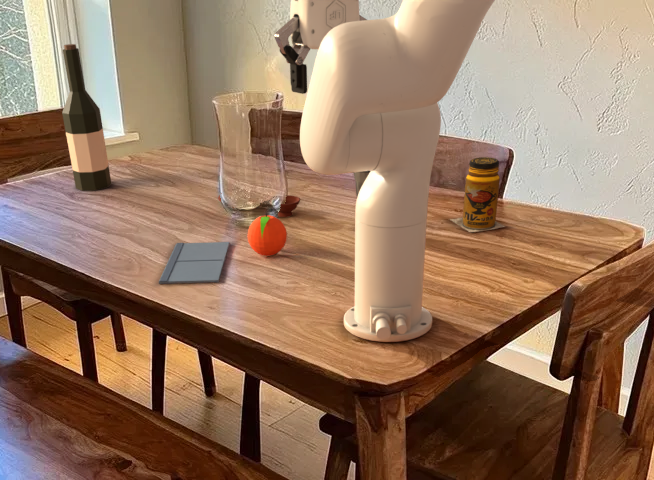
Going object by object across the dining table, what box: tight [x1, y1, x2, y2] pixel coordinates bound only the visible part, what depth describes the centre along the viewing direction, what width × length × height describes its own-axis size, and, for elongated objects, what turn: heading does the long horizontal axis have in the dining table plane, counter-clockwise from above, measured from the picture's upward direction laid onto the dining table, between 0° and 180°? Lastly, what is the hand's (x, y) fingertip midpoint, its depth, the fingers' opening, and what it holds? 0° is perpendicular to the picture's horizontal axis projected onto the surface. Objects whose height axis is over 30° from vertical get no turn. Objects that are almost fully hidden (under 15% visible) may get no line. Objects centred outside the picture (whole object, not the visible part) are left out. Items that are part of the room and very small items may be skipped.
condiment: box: [449, 156, 506, 233], centre depth 146 cm, size 7×8×12 cm
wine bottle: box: [61, 43, 112, 192], centre depth 177 cm, size 8×8×30 cm
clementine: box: [247, 214, 288, 257], centre depth 138 cm, size 8×7×7 cm
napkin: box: [158, 241, 231, 285], centre depth 138 cm, size 19×10×1 cm, turn 177°
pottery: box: [217, 194, 302, 218], centre depth 162 cm, size 12×20×4 cm, turn 48°
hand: (324, 87), depth 121 cm, fingers open, 9 cm apart
